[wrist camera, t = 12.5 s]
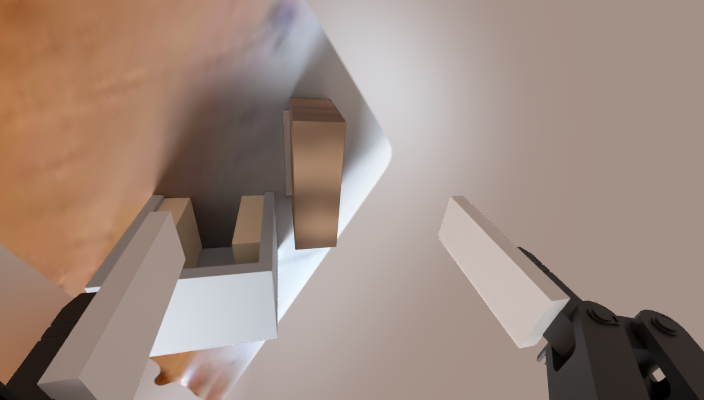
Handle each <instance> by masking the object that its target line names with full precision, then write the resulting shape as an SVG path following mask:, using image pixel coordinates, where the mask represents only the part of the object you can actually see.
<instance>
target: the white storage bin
mask: <svg viewBox="0 0 704 400" xmlns="http://www.w3.org/2000/svg"><path fill="white" fill-rule="evenodd" d="M162 211H171V214H172V217H173V221H174V224H175V227H176V230H177V233H178V236H179V240H180V243H181V246H182V249H183V252H184V255H185V258H186V260H185V263H184V265H183V268H182V271H181V273H180V276H179V279H178V281H177V284H176V287H175V289H174V292H173V295H172V297H171V300H170V302H169V305H168V308H167V310H166V313H165V316H164V318H163V321H162V324H161V326H160V329H159V332H158V334H157V337H156V339H155V342H154V345H153V347H152V350H151V353H150V355H149V357H153V356H160V355H166V354H173V353H180V352H187V351H194V350H201V349H207V348H214V347H221V346H228V345H235V344H242V343H248V342H255V341H262V340H268V339H276V338H277V289H278V248H277V231H276V215H275V199H274V192H264V195H256V196H242V198H241V203H240V208H239V212H238V217H237V222H236V227H235V231H234V236H233V241H232V247H223V248H209V249H202V244H201V240H200V236H199V232H198V228H197V223H196V219H195V215H194V211H193V207H192V203H191V199H190V198H164V195H152V196H151V198H150V199H149V200H148V202H147V203H146V204H145V206H144V207H143V209H142V210H141V211H140V213H139V214H138V215H137V217H136V218H135V220H134V221H133V222H132V224H131V225H130V226H129V228H128V229H127V230H126V232H125V233H124V235H123V236H122V237H121V239H120V240H119V241H118V243H117V244H116V245H115V247H114V248H113V250H112V251H111V252H110V254H109V255H108V256H107V258H106V259H105V260H104V262H103V263H102V265H101V266H100V267H99V269H98V270H97V271H96V273H95V274H94V276H93V277H92V278H91V280H90V281H89V282H88V284H87V285H86V286H85V288H84V289H85V290H86V292H87V293H90V292H98V290H99V289H100V287H101V286H102V284H103V283H104V281H105V280H106V278H107V277H108V275H109V273H110V272H111V270H112V269H113V267H114V266H115V264H116V263H117V261H118V260H119V258H120V257H121V255H122V254H123V252H124V251H125V249H126V248H127V246H128V244H129V243H130V241H131V240H132V238H133V237H134V235H135V234H136V232H137V231H138V229H139V228H140V226H141V225H142V223H143V222H144V220H145V219H146V217H147V215H148V214H149V212H162Z"/></svg>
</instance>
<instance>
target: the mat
mask: <svg viewBox="0 0 704 400" xmlns="http://www.w3.org/2000/svg"><path fill="white" fill-rule="evenodd" d="M283 127H284V154H285V182H286V196H292V182H291V141H290V111H288V110H283Z"/></svg>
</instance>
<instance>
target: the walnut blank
mask: <svg viewBox="0 0 704 400" xmlns="http://www.w3.org/2000/svg"><path fill="white" fill-rule="evenodd" d="M289 99H290V141H291V182H292V211H293V225H294V238H295V250H298V249H311V248H324V247H336V243H337V231H338V218H339V205H340V193H341V180H342V167H343V155H344V142H345V129H346V122H345V120H344V119H343V117H342V116H341V114H340V113H339V111H338V110H337V108H336V107H335V105H334V104H333V102H332V101H331V100H330V99H316V98H295V97H289Z"/></svg>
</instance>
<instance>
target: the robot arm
mask: <svg viewBox="0 0 704 400" xmlns="http://www.w3.org/2000/svg"><path fill="white" fill-rule="evenodd" d="M438 238H439V239H440V241H441V242H442V243H443V245H444V246H445V248H446V249H447V250H448V251H449V253H450V254H451V256H452V257H453V259H454V260H455V261H456V263H457V264H458V265H459V267H460V268H461V269H462V271H463V272H464V274H465V275H466V276H467V278H468V279H469V281H470V282H471V283H472V284H473V286H474V287H475V289H476V290H477V292H478V293H479V294H480V296H481V297H482V298H483V299H484V301H485V302H486V304H487V305H488V307H489V308H490V309H491V311H492V312H493V313H494V315H495V316H496V318H497V319H498V320H499V322H500V323H501V324H502V326H503V327H504V329H505V330H506V331H507V333H508V334H509V335H510V337H511V338H512V339H513V341H514V342H515V344H516V345H517V346H518V347H519V348H523V347H529V346H533V345H536V344H537V342H538V341H539V340H540V338H541V337H542V336H544V337H545V339H546V340H547V341H548V344H547V345H546V346H545V347H544V349H543V350H542V351H541V352H540V354H539V355H538V357H537V361H539V362H540V361H541V360H542V359H543V358H544V356H546V362H545V365H547V376H548V389H549V400H704V351H703V350H702V349H701V348H700V347H699V345H698V344H697V343H696V342H695V341H694V340H693V338H691V336H690V335H689V334H688V333H687V331H685V329H684V328H683V327H681V326H680V325H679V324H678V323H677V322H675V321H674V320H672V319H671V318H669V317H668V316H665V315H663V314H661V313H658V312H655V311H652V310H643V311H640V312H639V313H638V314H637V315H636V316H635V318H629V317H623V316H616V315H615V314H614V313H613V312H612V311H610V310H609V309H607V308H606V307H604V306H602V305H600V304H598V303H594V302H591V301H582V300H581V299H580V298H579V297H577V296H576V295H575V294H574V293H573V292H572V291H571V290H570V289H569V288H568V287H567V286H566V285H565V284H564V283H563V282H562V281H560V280H559V279H558V278H557V277H556V276H555V275H554V274H553V273H551V272H550V270H549V269H548V268H546V267H545V266H544V265H542V263H541V262H540V261H539V260H538V259H537V258H536V257H535V256H534V255H532V254H531V253H529V252H527V251H526V250H524V249H523V248H521V247H516V246H515V245H514V244H513V243H512V242H511V241H510V240H509V239H508V238H507V237H506V236H505V235H504V234H503V233H502V232H501V231H499V229H498V228H497V227H495V226H494V225H493V224H492V223H491V222H490V221H489V220H488V219H487V218H486V217H485V216H484V215H483V214H482V213H481V212H480V211H479V210H478V209H477V208H476V207H475V206H474V205H473V204H471V203H470V202H469V201H468V200H467V199H466V198H465V197H464V196H454V197H453V196H452V197H450V200H449V203H448V207H447V210H446V213H445V216H444V220H443V223H442V226H441V229H440V232H439V235H438ZM185 260H186V258H185V255H184V252H183V249H182V246H181V243H180V240H179V236H178V233H177V230H176V227H175V224H174V221H173V217H172V214H171V211H162V212H149V214H148V215H147V217H146V219H145V220H144V222H143V223H142V225H141V226H140V228H139V229H138V231H137V232H136V234H135V235H134V237H133V238H132V240H131V241H130V243H129V244H128V246H127V248H126V249H125V251H124V252H123V254H122V255H121V257H120V258H119V260H118V261H117V263H116V264H115V266H114V267H113V269H112V270H111V272H110V273H109V275H108V277H107V278H106V280H105V281H104V283H103V284H102V286H101V287H100V289H99V290H98V292H90V293H81V294H79V295H78V296H77V297H76V298H74V299H73V300H72V301H71V302H70V303H68V304H67V305H66V306H65V307H64V308H62V310H61V311H60V312H59V314H58V315H57V317H56V318H55V319H54V321H53V322H52V323H51V327H49V328H48V329H47V330H46V331H45V333H44V334H43V336H42V337H41V341H38V342H37V344H36V345H35V346H34V348H33V349H32V350H31V352H30V353H29V355H28V356H27V357H26V359H25V360H24V361H23V363H22V364H21V366H20V367H19V368H18V369H17V371H16V372H15V373H14V375H13V376H12V378H11V379H10V380H9V382H8V383H7V384H6V386H5V385H4V384H3V383H2V382H1V381H0V400H133V397H134V395H135V392H136V390H137V387H138V384H139V382H140V379H141V377H142V374H143V371H144V369H145V366H146V363H147V361H148V358H149V355H150V353H151V350H152V347H153V345H154V342H155V339H156V337H157V334H158V332H159V329H160V326H161V324H162V321H163V318H164V316H165V313H166V310H167V308H168V305H169V302H170V300H171V297H172V295H173V292H174V289H175V287H176V284H177V281H178V279H179V276H180V273H181V271H182V268H183V265H184V263H185ZM658 368H660V369H661V370H662V372H663V374H664V375H665V376H666V377H665V378H664V379H663V380H661V381H659V382H658V381H657V380H656V379H655V377H654V376H653V374H652V373H653V372H654V371H655V370H657V369H658Z"/></svg>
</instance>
